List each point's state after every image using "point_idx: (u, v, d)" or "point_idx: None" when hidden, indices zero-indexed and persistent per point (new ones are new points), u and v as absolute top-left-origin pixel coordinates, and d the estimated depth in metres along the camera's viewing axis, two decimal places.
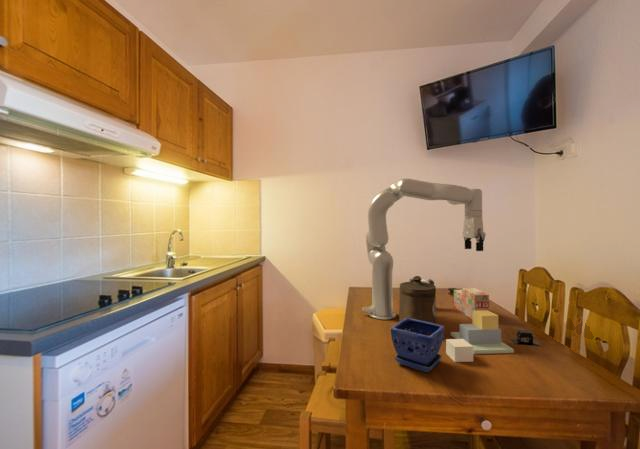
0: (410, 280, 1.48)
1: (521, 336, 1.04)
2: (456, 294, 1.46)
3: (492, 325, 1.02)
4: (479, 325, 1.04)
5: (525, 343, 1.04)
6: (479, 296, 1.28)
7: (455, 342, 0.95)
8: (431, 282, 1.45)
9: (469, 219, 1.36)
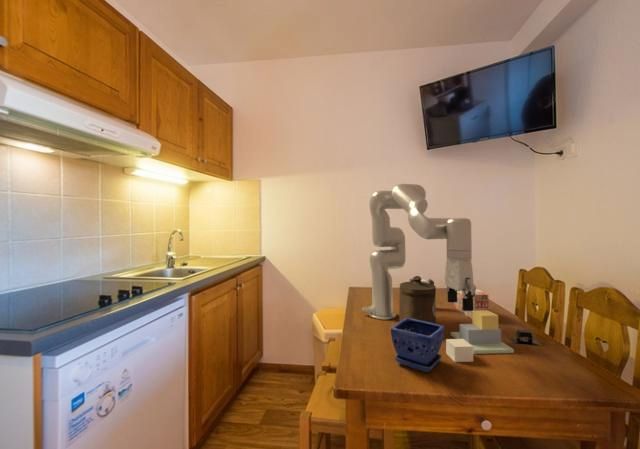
0: (410, 280, 1.48)
1: (520, 335, 1.05)
2: None
3: (492, 325, 1.02)
4: (479, 325, 1.04)
5: (524, 342, 1.04)
6: (479, 296, 1.28)
7: (455, 342, 0.95)
8: (431, 282, 1.45)
9: (453, 262, 0.94)
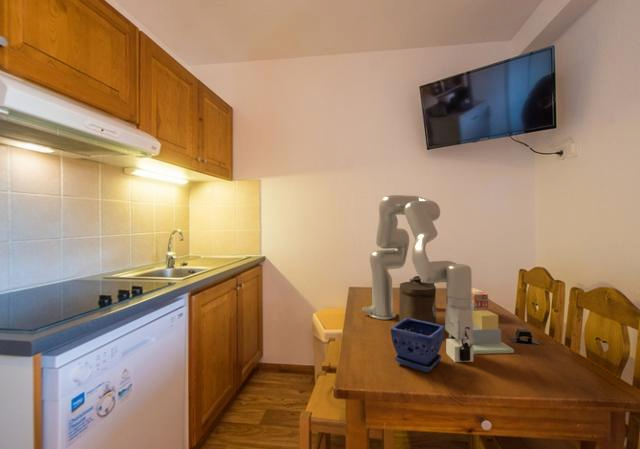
0: (410, 280, 1.48)
1: (520, 335, 1.06)
2: None
3: (492, 325, 1.02)
4: (479, 325, 1.04)
5: (524, 342, 1.05)
6: (478, 295, 1.29)
7: (455, 342, 0.95)
8: None
9: (453, 310, 0.93)
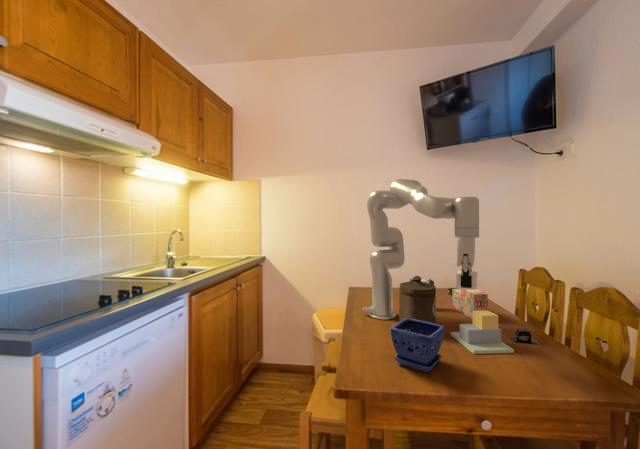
0: (410, 280, 1.48)
1: (519, 334, 1.06)
2: (455, 293, 1.47)
3: (492, 325, 1.02)
4: (479, 325, 1.04)
5: (523, 341, 1.05)
6: (478, 295, 1.29)
7: None
8: (431, 282, 1.45)
9: None
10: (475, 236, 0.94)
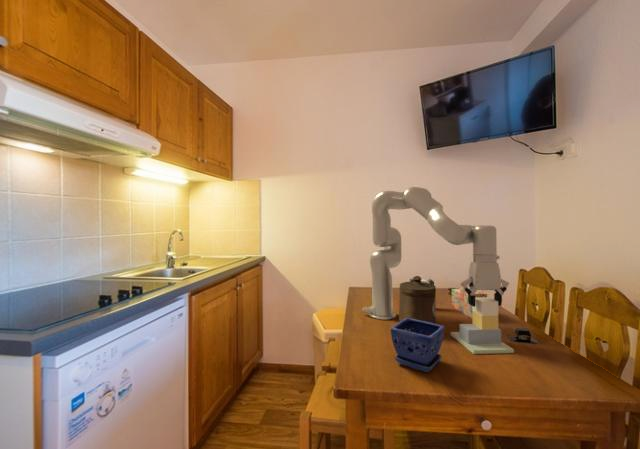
0: (410, 280, 1.48)
1: (519, 334, 1.07)
2: (454, 293, 1.48)
3: (492, 325, 1.02)
4: (479, 325, 1.04)
5: (523, 340, 1.06)
6: (478, 295, 1.30)
7: (483, 298, 1.06)
8: (431, 282, 1.45)
9: None
10: (482, 262, 1.02)
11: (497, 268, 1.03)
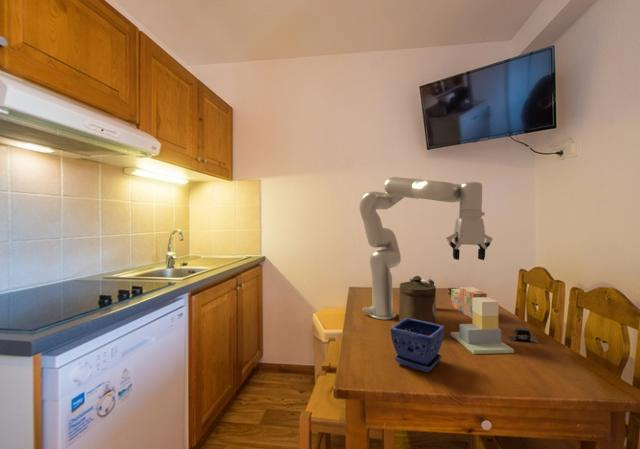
0: (410, 280, 1.48)
1: (518, 333, 1.07)
2: (454, 293, 1.48)
3: (492, 325, 1.02)
4: (479, 325, 1.04)
5: (522, 340, 1.06)
6: (477, 295, 1.30)
7: (483, 298, 1.06)
8: (431, 282, 1.45)
9: None
10: (467, 217, 1.06)
11: (481, 223, 1.07)
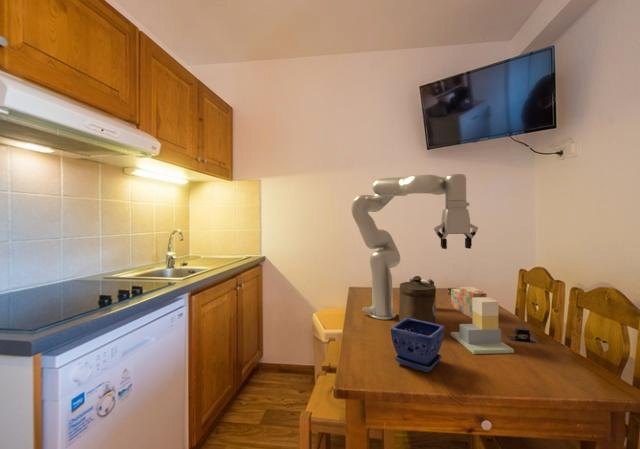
0: (410, 280, 1.48)
1: (518, 333, 1.07)
2: (453, 293, 1.48)
3: (492, 325, 1.02)
4: (479, 325, 1.04)
5: (522, 340, 1.07)
6: (477, 295, 1.30)
7: (483, 298, 1.06)
8: (431, 282, 1.45)
9: None
10: (452, 207, 1.10)
11: (467, 213, 1.11)
